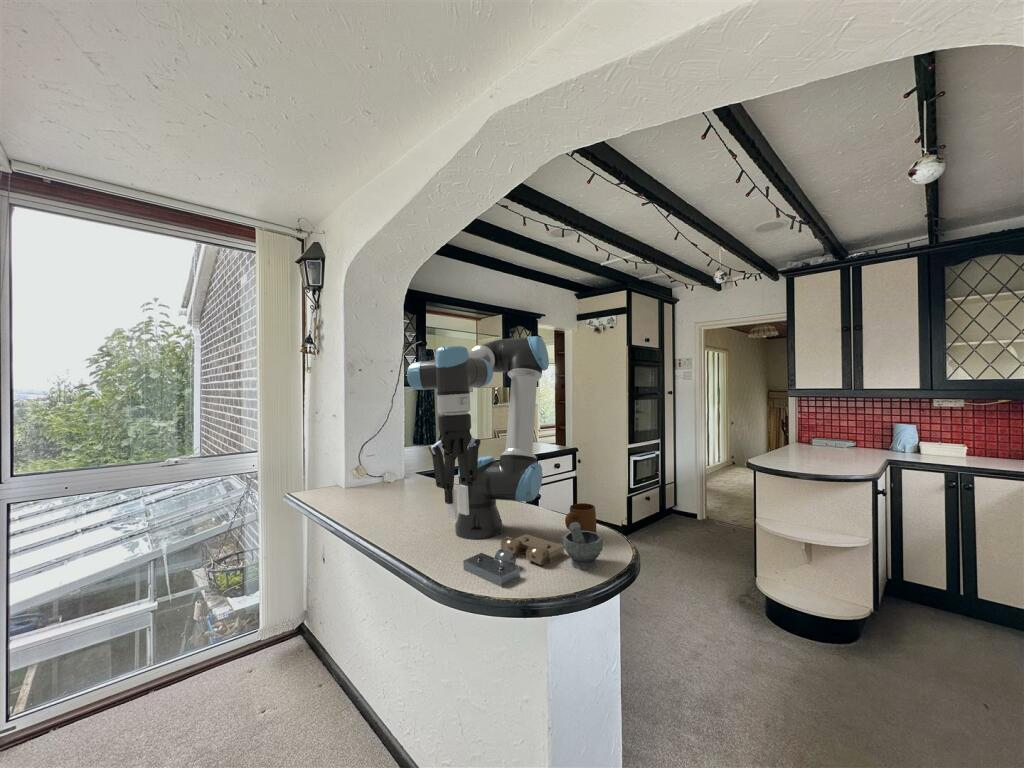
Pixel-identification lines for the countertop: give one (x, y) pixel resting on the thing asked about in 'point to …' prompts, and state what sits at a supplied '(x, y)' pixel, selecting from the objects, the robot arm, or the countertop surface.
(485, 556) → the loose leaf
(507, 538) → the fixed leaf
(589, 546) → the mortar and pestle
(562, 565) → the countertop surface
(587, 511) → the mug
